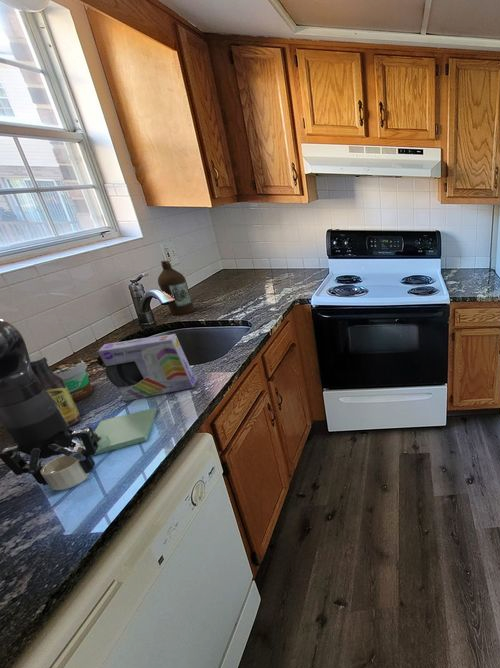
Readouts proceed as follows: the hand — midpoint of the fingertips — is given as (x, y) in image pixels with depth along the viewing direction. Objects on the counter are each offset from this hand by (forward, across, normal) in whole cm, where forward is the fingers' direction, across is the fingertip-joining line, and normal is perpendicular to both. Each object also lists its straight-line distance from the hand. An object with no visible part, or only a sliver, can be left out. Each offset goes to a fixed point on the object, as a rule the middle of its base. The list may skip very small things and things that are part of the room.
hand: (69, 476), depth 80 cm
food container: (+1, +11, -43) cm, 44 cm away
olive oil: (+1, -8, -116) cm, 116 cm away
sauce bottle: (+1, +9, -28) cm, 29 cm away
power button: (-1, -2, -10) cm, 10 cm away
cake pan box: (+1, -11, -34) cm, 36 cm away
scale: (+1, -6, -15) cm, 16 cm away
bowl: (+1, 0, 0) cm, 1 cm away
